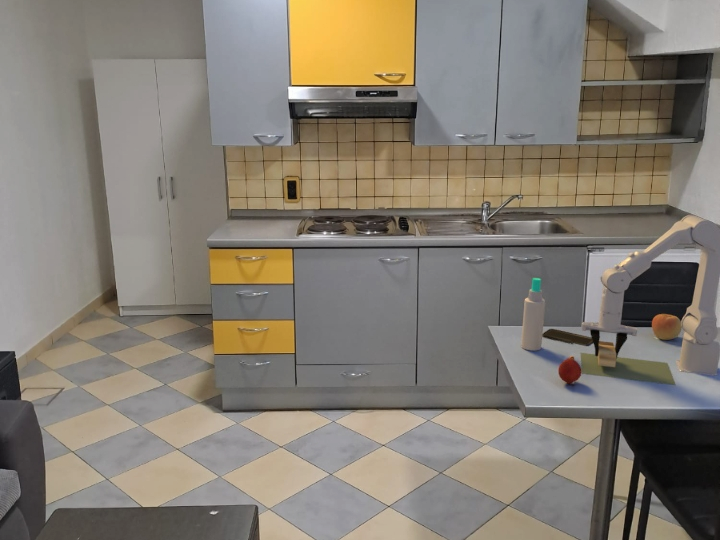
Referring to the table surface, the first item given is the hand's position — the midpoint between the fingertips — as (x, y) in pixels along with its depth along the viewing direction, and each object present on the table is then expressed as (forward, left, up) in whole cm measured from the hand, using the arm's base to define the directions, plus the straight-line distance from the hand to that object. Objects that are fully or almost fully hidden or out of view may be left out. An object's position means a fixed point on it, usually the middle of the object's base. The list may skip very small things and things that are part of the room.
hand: (605, 356), depth 185 cm
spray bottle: (+21, -8, -3) cm, 23 cm away
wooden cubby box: (0, 0, -1) cm, 1 cm away
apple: (-20, -31, -3) cm, 37 cm away
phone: (+10, -20, -4) cm, 23 cm away
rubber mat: (-6, 0, -3) cm, 6 cm away
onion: (+10, +16, -3) cm, 19 cm away
